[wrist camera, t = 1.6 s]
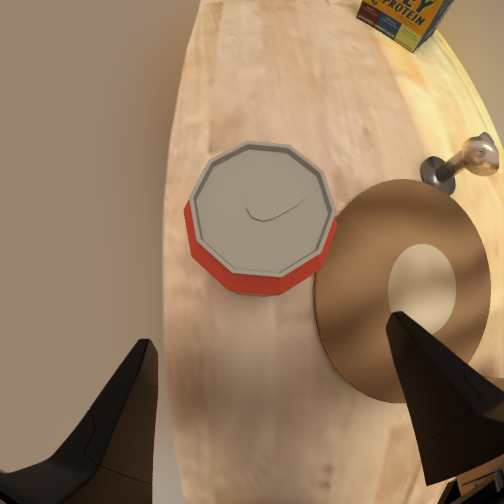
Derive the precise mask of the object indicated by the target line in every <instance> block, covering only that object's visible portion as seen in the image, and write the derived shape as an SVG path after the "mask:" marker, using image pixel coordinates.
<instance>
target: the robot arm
mask: <svg viewBox="0 0 504 504" xmlns="http://www.w3.org/2000/svg"><path fill="white" fill-rule="evenodd" d="M386 334H387V338H388V342H389V346H390V350H391V354H392V359H393V362H394V366H395V369H396V372H397V375H398V378H399V381H400V384H401V387H402V390H403V394H404V397H405V400H406V403H407V407H408V410H409V414H410V417H411V421H412V425H413V428H414V432H415V436H416V440H417V444H418V449H419V453H420V457H421V462H422V467H423V472H424V477H425V482H426V486H429V485H432V484H435V483H439V482H441V481H444V480H447V479H450V478H453V477H456V478H455V479H454V480H452V481H450V482H449V483H447V486H446V488H445V490H444V492H443V494H442V496H441V498H440V499H439V501H438V503H437V504H504V391H503V390H501V389H500V388H499V387H497V386H496V385H494V384H493V383H492V382H490V381H489V380H487V379H486V378H485V377H483V376H482V375H481V374H479V373H478V372H477V371H475V370H474V369H473V368H472V367H470V366H469V365H468V364H467V363H466V362H465V361H463V360H462V359H461V358H460V357H459V356H457V355H456V354H455V353H454V352H453V351H451V350H450V349H449V348H448V347H447V346H445V345H444V344H443V343H442V342H441V341H439V340H438V339H437V338H436V337H434V336H433V335H432V334H431V333H429V332H428V331H427V330H426V329H424V328H423V327H422V326H421V325H419V324H418V323H417V322H416V321H414V320H413V319H412V318H411V317H409V316H408V315H407V314H405V313H404V312H403V311H395V312H392V313H391V315H390V317H389V320H388V322H387V324H386ZM157 400H158V353H157V350H156V348H155V346H154V345H153V343H152V341H151V340H150V339H139V340H138V341H137V343H136V344H135V345H134V347H133V348H132V350H131V351H130V352H129V354H128V355H127V356H126V358H125V359H124V361H123V362H122V363H121V365H120V366H119V367H118V369H117V370H116V371H115V373H114V374H113V376H112V377H111V378H110V380H109V381H108V383H107V384H106V385H105V387H104V389H103V390H102V391H101V393H100V394H99V396H98V397H97V398H96V400H95V401H94V403H93V404H92V406H91V407H90V409H89V410H88V411H87V413H86V414H85V416H84V417H83V418H82V420H81V421H80V423H79V424H78V425H77V427H76V428H75V429H74V430H73V432H72V433H71V434H70V435H69V437H68V438H67V439H66V440H65V441H64V442H63V444H62V445H61V446H60V447H59V448H58V449H57V451H56V452H55V453H54V454H53V455H52V456H51V457H49V458H48V459H46V460H45V461H42V462H40V463H37V464H35V465H32V466H29V467H26V468H24V469H20V470H18V471H15V472H11V473H7V472H5V471H3V470H1V469H0V504H152V477H153V476H152V475H153V452H154V435H155V422H156V409H157Z"/></svg>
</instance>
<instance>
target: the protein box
mask: <svg viewBox="0 0 504 504" xmlns="http://www.w3.org/2000/svg"><path fill="white" fill-rule="evenodd" d="M453 1H454V0H362V3H361V6H360V9H359V11H358V14H357V18H358V19H360V20H362V21H364V22H366V23H367V24H369V25H371V26H373V27H374V28H376V29H377V30H379V31H381V32H382V33H384V34H385V35H387V36H389V37H390V38H392V39H393V40H395V41H396V42H398V43H399V44H400V45H402V46H403V47H405V48H406V49H407V50H409V51H410V52H412V53H413V52H414V51H415V50H416V49H417V48H418V47H419V46H420V45H421V44H422V43H423V42H425V41H426V40H427V39H428V38H429V37H430V36H431V35H432V34H433V33H434V31H435V30H436V28H437V26H438V25H439V23H440V22H441V20H442V19H443V17H444V15H445V14H446V12H447V10H448V9H449V7H450V6H451V4H452V2H453Z"/></svg>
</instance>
